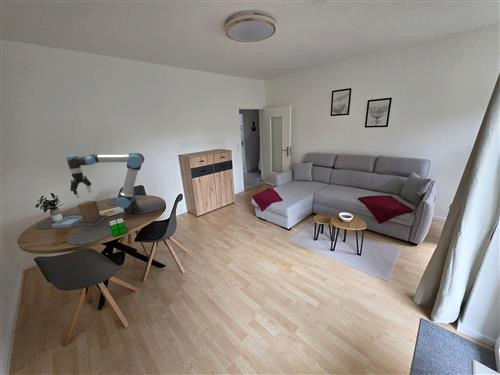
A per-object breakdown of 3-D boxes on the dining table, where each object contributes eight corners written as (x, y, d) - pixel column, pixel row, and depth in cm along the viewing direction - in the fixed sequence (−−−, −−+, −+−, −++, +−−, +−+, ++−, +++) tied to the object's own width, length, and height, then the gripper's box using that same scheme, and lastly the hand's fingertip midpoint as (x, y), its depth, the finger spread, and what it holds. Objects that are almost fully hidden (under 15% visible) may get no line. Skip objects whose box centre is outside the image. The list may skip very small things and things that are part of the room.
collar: (108, 217, 200) (108, 214, 199) (95, 225, 183) (94, 223, 182) (91, 217, 201) (90, 215, 200) (76, 226, 184) (75, 224, 183)
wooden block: (92, 224, 186) (85, 204, 180) (84, 223, 188) (77, 204, 182) (102, 219, 195) (96, 200, 189) (93, 219, 197) (87, 200, 191)
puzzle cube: (125, 227, 176) (122, 217, 173) (127, 232, 168) (124, 221, 165) (112, 232, 170) (108, 221, 167) (113, 236, 163) (110, 225, 160)
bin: (86, 218, 199) (85, 215, 198) (71, 227, 182) (69, 224, 181) (69, 219, 200) (68, 216, 199) (52, 228, 183) (51, 224, 182)
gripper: (84, 169, 189) (90, 190, 195) (59, 176, 165) (68, 200, 171) (91, 169, 188) (98, 190, 195) (68, 176, 165) (76, 199, 171)
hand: (84, 194), depth 183 cm, fingers open, 13 cm apart
